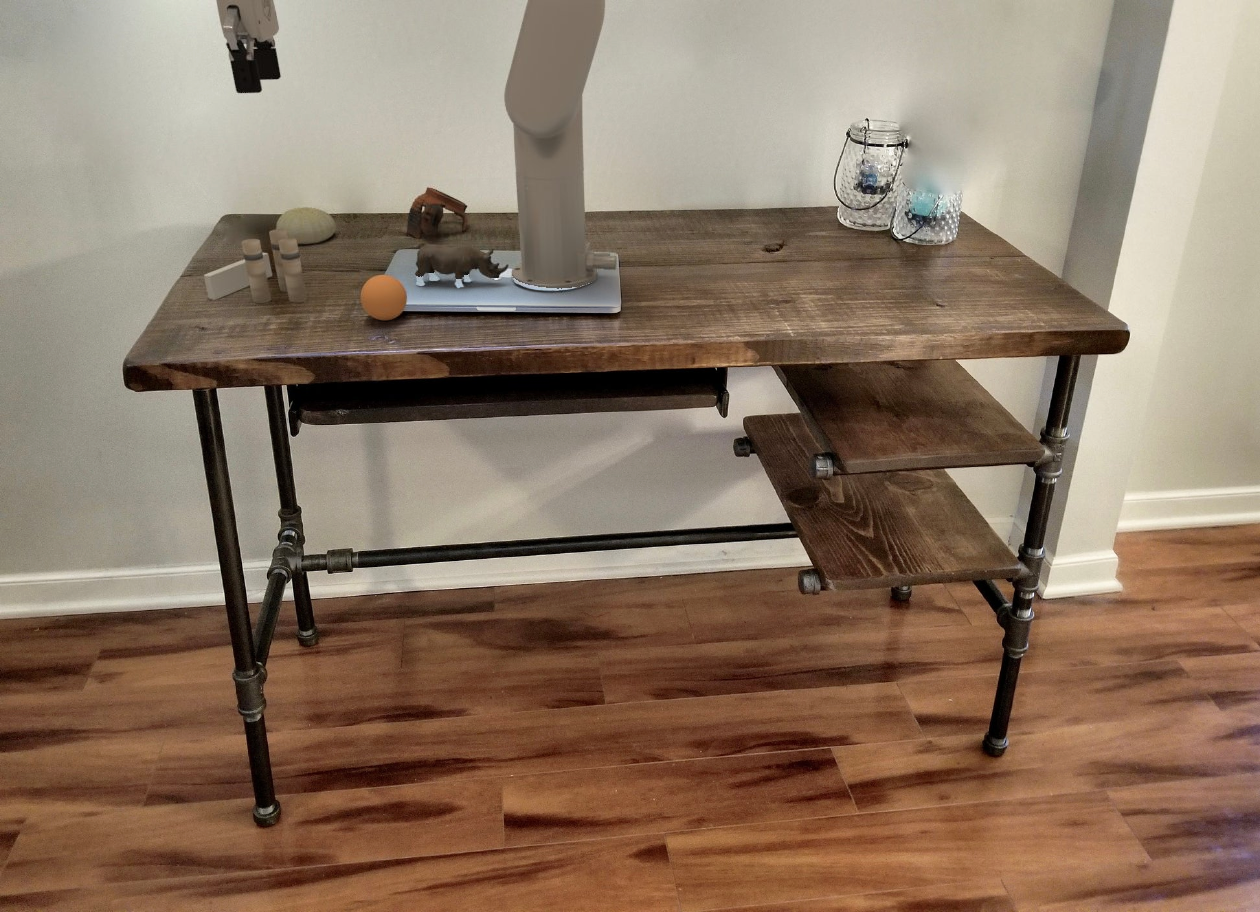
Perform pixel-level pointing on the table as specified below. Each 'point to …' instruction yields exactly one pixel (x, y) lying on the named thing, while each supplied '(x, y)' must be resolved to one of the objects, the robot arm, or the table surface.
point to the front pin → (292, 269)
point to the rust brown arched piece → (432, 212)
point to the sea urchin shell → (307, 225)
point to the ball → (383, 297)
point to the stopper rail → (231, 278)
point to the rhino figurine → (456, 261)
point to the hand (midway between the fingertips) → (259, 85)
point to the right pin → (278, 255)
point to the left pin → (256, 270)
